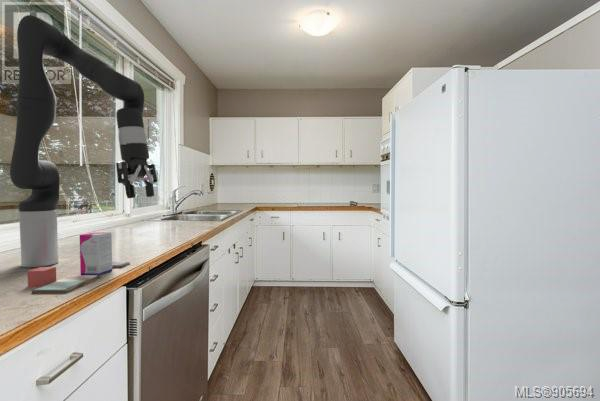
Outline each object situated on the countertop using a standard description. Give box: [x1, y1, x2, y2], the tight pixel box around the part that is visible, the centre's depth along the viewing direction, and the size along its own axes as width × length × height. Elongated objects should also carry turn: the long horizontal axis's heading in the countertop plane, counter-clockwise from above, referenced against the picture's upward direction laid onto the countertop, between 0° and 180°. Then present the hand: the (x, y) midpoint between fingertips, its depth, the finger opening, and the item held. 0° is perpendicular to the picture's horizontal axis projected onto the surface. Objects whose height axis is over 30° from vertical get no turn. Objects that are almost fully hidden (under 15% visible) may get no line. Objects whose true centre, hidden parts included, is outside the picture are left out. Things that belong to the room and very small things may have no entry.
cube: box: [27, 266, 57, 288], centre depth 81 cm, size 4×4×4 cm
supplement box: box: [79, 231, 113, 276], centre depth 91 cm, size 6×6×12 cm
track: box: [31, 261, 131, 294], centre depth 88 cm, size 28×8×1 cm, turn 0°
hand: (141, 197), depth 96 cm, fingers open, 8 cm apart
